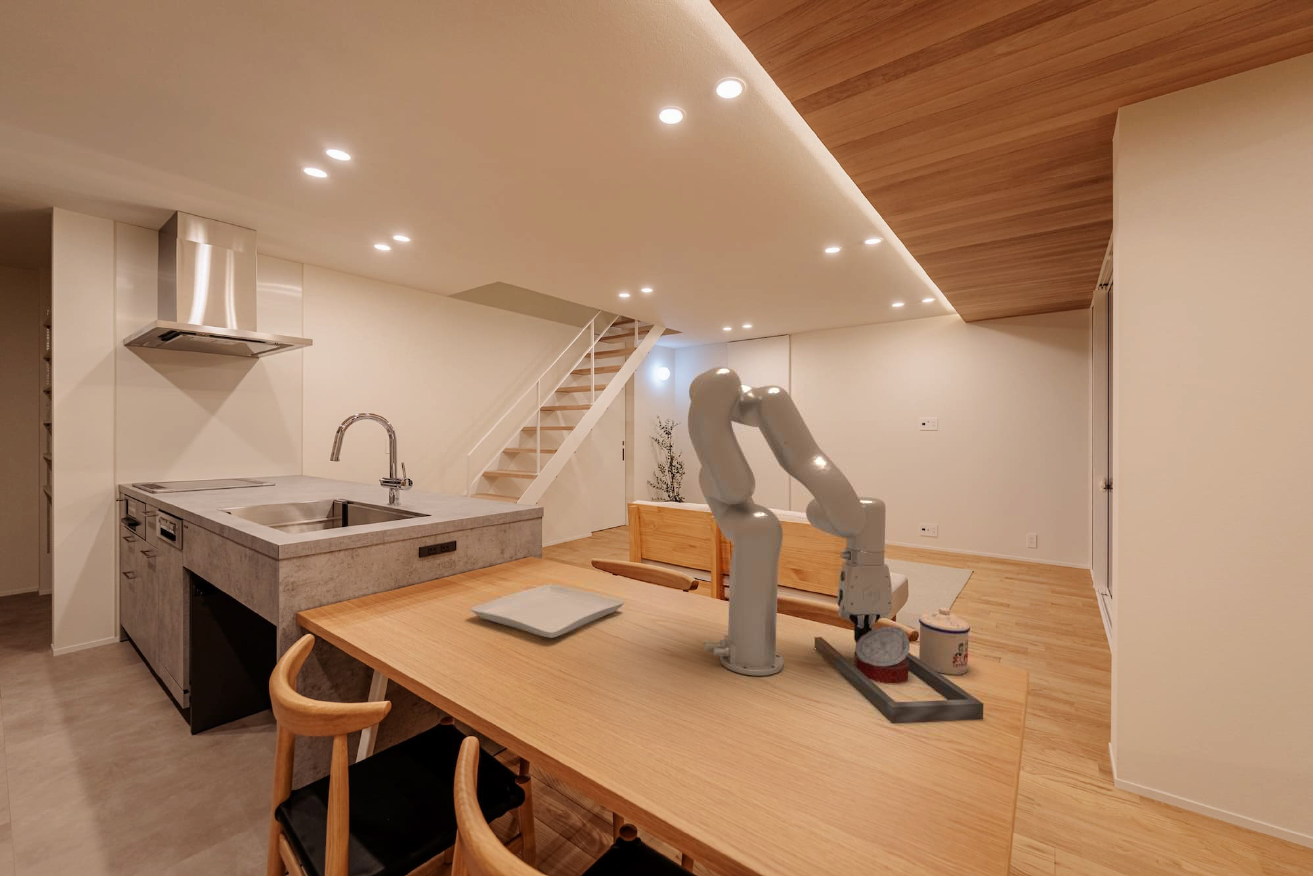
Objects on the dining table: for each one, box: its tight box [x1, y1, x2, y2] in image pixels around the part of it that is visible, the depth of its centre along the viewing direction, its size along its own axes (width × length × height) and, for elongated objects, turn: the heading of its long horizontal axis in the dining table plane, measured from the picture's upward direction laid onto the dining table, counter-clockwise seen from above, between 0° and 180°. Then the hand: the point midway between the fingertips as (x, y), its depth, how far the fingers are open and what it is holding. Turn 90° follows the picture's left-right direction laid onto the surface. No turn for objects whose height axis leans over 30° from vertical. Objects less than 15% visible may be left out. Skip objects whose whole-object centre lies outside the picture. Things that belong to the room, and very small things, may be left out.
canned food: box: [853, 625, 910, 684], centre depth 103 cm, size 11×10×10 cm
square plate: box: [469, 583, 626, 639], centre depth 129 cm, size 27×27×4 cm
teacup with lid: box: [918, 607, 971, 676], centre depth 108 cm, size 12×9×12 cm
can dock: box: [814, 636, 984, 724], centre depth 100 cm, size 16×30×2 cm, turn 7°
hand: (862, 645), depth 110 cm, fingers closed
